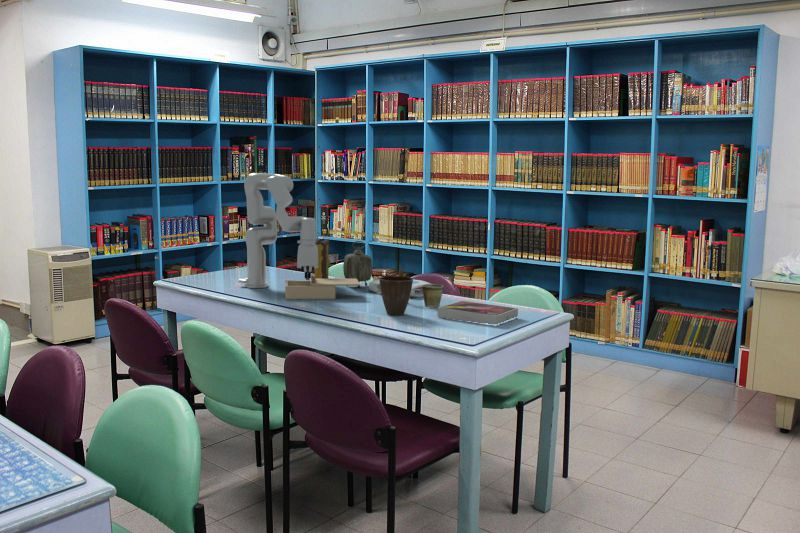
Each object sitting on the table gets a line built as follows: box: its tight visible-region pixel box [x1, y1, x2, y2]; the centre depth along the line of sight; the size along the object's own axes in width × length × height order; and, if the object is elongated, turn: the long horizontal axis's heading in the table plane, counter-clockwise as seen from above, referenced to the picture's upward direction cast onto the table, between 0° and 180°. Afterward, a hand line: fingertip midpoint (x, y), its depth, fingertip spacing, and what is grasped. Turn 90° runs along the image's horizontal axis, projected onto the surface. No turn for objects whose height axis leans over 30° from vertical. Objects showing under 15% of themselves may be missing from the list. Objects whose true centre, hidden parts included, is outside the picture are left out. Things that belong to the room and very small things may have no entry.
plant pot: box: [378, 275, 414, 316], centre depth 314 cm, size 15×15×16 cm
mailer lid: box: [309, 273, 361, 287], centre depth 354 cm, size 24×18×4 cm
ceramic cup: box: [421, 283, 444, 309], centre depth 335 cm, size 13×10×10 cm
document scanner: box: [368, 278, 431, 298], centre depth 370 cm, size 21×28×6 cm
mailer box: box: [284, 279, 336, 301], centre depth 353 cm, size 24×18×7 cm
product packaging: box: [437, 300, 519, 324], centre depth 311 cm, size 22×28×5 cm
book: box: [312, 238, 332, 279], centre depth 382 cm, size 22×8×25 cm, turn 179°
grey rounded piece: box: [342, 240, 373, 289], centre depth 383 cm, size 14×9×25 cm, turn 108°
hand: (307, 279), depth 352 cm, fingers closed
